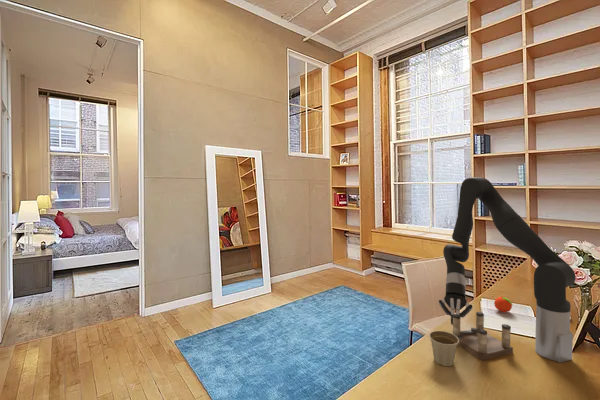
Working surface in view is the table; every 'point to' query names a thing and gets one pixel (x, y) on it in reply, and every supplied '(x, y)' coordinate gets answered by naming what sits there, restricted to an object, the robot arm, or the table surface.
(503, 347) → the stool
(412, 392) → the table surface
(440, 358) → the flower pot
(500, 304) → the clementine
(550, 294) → the robot arm
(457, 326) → the swing leg
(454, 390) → the table surface
